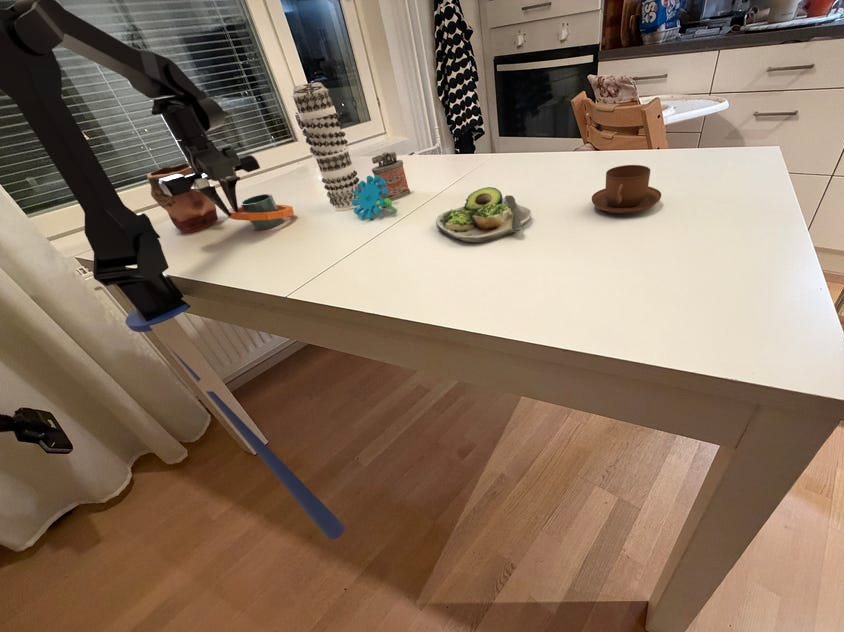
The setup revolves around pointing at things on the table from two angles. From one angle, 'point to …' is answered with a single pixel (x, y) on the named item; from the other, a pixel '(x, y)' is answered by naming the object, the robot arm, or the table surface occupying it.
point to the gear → (371, 197)
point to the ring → (261, 214)
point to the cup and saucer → (626, 190)
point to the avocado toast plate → (484, 217)
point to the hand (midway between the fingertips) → (233, 214)
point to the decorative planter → (183, 201)
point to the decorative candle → (327, 143)
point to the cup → (261, 210)
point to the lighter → (391, 175)
